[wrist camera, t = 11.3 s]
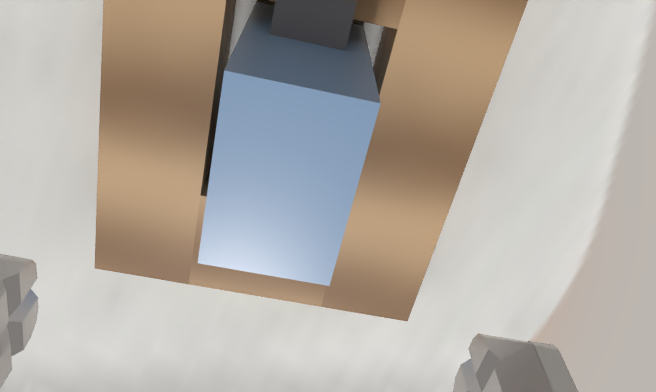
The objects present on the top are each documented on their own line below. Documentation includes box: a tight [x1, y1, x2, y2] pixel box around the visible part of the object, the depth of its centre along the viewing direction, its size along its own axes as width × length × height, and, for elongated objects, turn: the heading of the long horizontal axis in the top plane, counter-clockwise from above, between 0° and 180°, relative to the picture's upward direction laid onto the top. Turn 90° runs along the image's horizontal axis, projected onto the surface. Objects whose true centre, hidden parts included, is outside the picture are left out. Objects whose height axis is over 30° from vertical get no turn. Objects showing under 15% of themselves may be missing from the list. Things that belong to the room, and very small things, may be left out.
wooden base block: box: [95, 0, 528, 321], centre depth 22 cm, size 16×13×3 cm
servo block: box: [198, 0, 381, 286], centre depth 20 cm, size 9×4×8 cm, turn 167°
